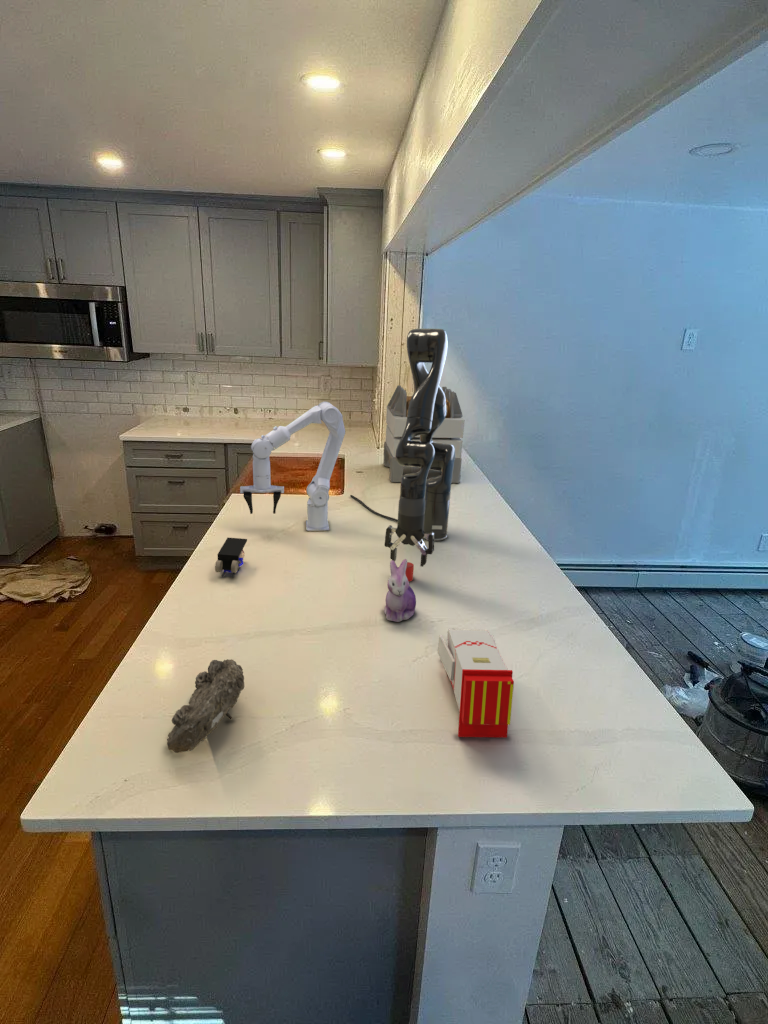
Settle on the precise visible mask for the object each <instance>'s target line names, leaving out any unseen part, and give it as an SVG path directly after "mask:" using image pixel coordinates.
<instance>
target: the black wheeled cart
mask: <svg viewBox="0 0 768 1024" xmlns="http://www.w3.org/2000/svg"><path fill="white" fill-rule="evenodd" d="M247 542H248V538H240V537H226V539H225V541H224V543H223V544H222V546H221V547H220V549H219V551H218V552H217V560H216V562H215V564H214V572H215V573H221V577H222V578H224V577H225V576H226V574H227V573H230V574H231V573H232V574H231V578H234V577H235V575H236V573H237V572H239V571H240V567H242V566H243V565H244V564H245V562H244V558H245V551H244V547H245V546H246V544H247Z"/></svg>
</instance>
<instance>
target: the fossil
mask: <svg viewBox="0 0 768 1024" xmlns="http://www.w3.org/2000/svg"><path fill="white" fill-rule="evenodd" d="M243 670H244V669H243V667H242V665H240V664H237V662H236V661H235V660H234V659H232V658H231V659H227V658H226V659H224V660H223V661H222V660H217V659H212V660H211V661H210V663H209V665H208V666H207V671H201V672H199V673H198V674H197V675H196V676H195V680H194V684H195V685H194V687H195V689H194V690H193V693H192V694H191V697H190V698H189V700H188V704H184V705H182V706H181V707H180V709H177V710H176V711H175V713H174V715H173V716H172V718H171V723H172V724H173V727H172V730H171V731H170V732H168V734H167V738H166V741H167V742H166V745H167V749H168V750H169V751H173V752H174V753H176V754H178V753H182V752H188V751H189V752H192V751H193V750H195V748H196V747H197V746H199V744H200V743H201V742H203V741H204V740H205V739H206V738H207V737H208V736H209V735H210V734H211V733H212V732H214V730H215V729H217V727H218V726H219V724H220V722H221V721H222V720H223V719H224V718H225V716H226V717H227V719H229V720H233V717H232V715H230V714H229V710H230V709H231V708H234V706H235V704H236V703H237V702H238V699H239V697H240V695H241V693H242V691H243V690H245V689H244V688H245V675H244V671H243Z"/></svg>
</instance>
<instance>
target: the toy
mask: <svg viewBox="0 0 768 1024" xmlns="http://www.w3.org/2000/svg"><path fill="white" fill-rule="evenodd" d="M446 640H447V643H446V641H445V639H444V636H443V635H442V634H439V637H438V646H437V656H438V657H439V659H440V661H441V663H442V666H443V668H444V670H445V672H446V674H447V677H448V679H449V681H450V684H451V687H452V690H453V693H454V697H455V701H456V705H457V708H458V711H459V714H458V715H459V716H458V730H457V731H458V732H457V737H458V738H508V731H509V726H510V725H511V717H512V707H513V697H514V696H513V695H514V684H515V680H514V679H513V673H514V671H513V670H512V669H508V667H507V665H506V662H505V661H504V659H503V658H502V655H501V653H500V651H499V649H498V647H497V643H496V639H495V637H494V635H493V634H491V632H490V631H489V629H467V628H466V629H465V628H463V629H461V628H460V629H459V628H448V630H447V639H446Z"/></svg>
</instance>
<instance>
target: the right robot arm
mask: <svg viewBox="0 0 768 1024" xmlns="http://www.w3.org/2000/svg"><path fill="white" fill-rule="evenodd" d="M448 340H449V339H448V335H447V331H445V329H443V328H413V329H411V330H409V332H408V333H407V336H406V350H407V353H406V354H407V358H408V363H409V367H410V372H411V377H412V383H413V389H414V390H413V391H414V393H413V394H412V397H411V400H410V403H409V407H408V414H407V421H406V426H405V430H404V432H403V435H402V437H401V440H400V442H399V444H398V446H397V449H396V453H395V457H396V460H397V462H398V463H399V464H400V465H402V466H404V467H413V468H420V469H419V470H418V471H416V472H410V473H406V474H403V475H402V478H401V482H400V490H399V499H398V509H397V518H395V517H391V516H388V515H386V514H385V515H384V514H382V513H379V512H377V511H375V510H373V509H372V508H370V507H369V506H368V505H367V504H366V503H365V502H364V501H362V500H361V499H359V498H358V497H356V496H354V495H352V494H350V496H349V497H350V498H352V499H354V500H355V501H357V502H359V503H360V504H361V505H362V506H363V507H364V508H365V509H367V510H368V511H370V513H372V514H374V515H377V516H379V517H382V518H384V519H387V520H391V521H394V522H397V523H396V524H397V525H396V527H395V526H393V525H388V526H387V528H386V529H385V537H384V547H385V548H389V550H390V554H389V555H390V556H389V559H390V560H393V561H394V562H395V563H396V561H397V556H398V555H397V554H398V548H397V547H398V546H399V545H400V544H401V543H402V544H403V545H408V546H412V547H414V546H415V547H416V548H417V550H419V552H420V553H421V555H420V563H419V564H420V565H419V566H420V567H421V568H424V566H426V565H427V561H428V555H432V554H433V552H434V551H435V542H440V541H444V540H446V539H447V538H448V525H449V517H450V516H449V514H450V504H451V494H452V493H451V491H452V484H453V483H452V474H453V467H454V460H455V448H454V446H453V445H450V444H443V443H436V442H433V441H432V437H433V435H434V433H435V432H436V430H437V429H438V428H439V427H440V425H441V424H442V423H443V421H444V419H445V417H446V413H447V411H446V398H445V394H444V392H443V390H442V387H441V386H440V383H441V379H442V377H443V376H442V375H443V371H444V367H445V363H446V361H447V360H446V359H447V354H448V346H449V343H448ZM426 363H427V364H431V366H430V369H429V371H428V370H427V366H426ZM419 435H420V441H411V440H412V439H413V438H414V437H416V436H419ZM430 471H437V472H440V471H442V474H441V473H440V474H441V475H438V476H435V477H429V478H428V475H429V473H430ZM394 533H395V534H396V536H397V539H396V540H395V541H394V542H392V536H393V535H394ZM423 539H424V540H426V541H428V543H427V546H426V544H425V542H424V541H423ZM427 547H428V548H427Z"/></svg>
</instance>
